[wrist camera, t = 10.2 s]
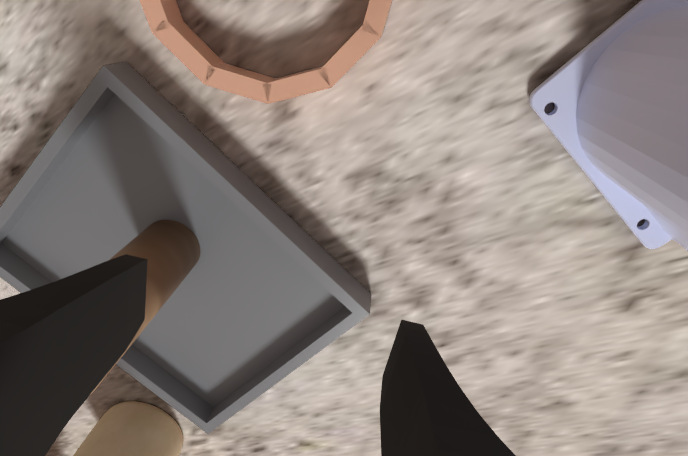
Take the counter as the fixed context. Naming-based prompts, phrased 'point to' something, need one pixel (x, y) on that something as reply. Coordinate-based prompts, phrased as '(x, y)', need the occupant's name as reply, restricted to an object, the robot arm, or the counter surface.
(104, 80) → the tray
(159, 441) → the candle
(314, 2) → the counter surface
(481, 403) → the counter surface
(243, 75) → the ring
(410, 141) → the counter surface
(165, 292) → the dowel
